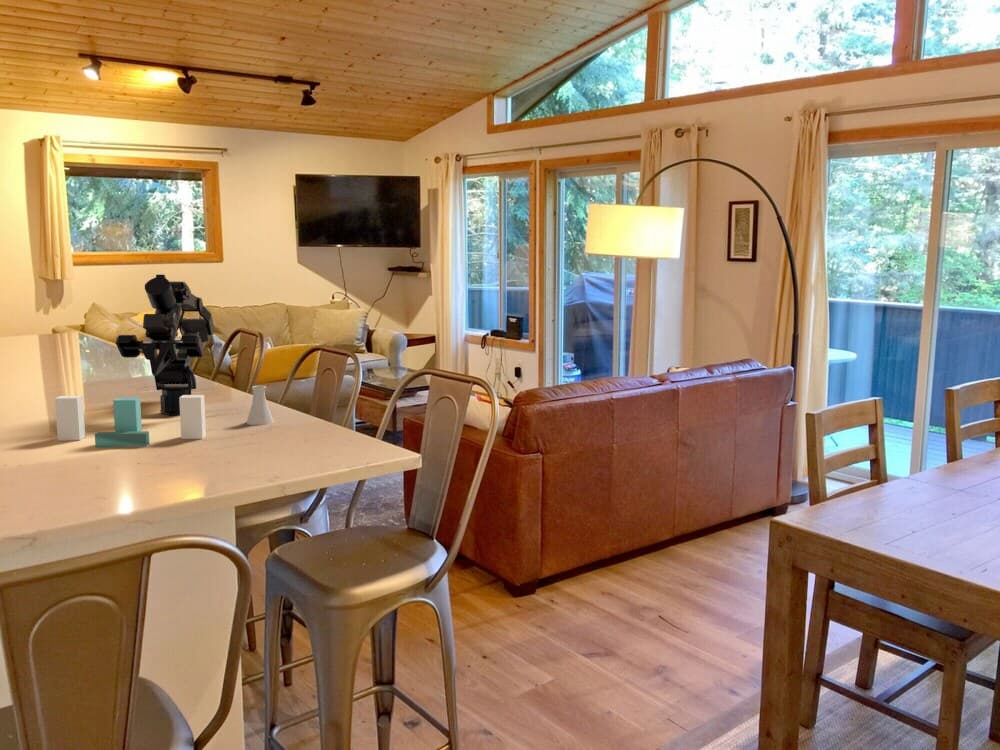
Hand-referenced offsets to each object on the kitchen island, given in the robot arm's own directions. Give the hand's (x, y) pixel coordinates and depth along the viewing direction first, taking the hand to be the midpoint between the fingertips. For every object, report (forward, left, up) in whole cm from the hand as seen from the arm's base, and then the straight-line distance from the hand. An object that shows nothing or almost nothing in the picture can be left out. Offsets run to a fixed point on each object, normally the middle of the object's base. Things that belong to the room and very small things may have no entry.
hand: (154, 374), depth 189 cm
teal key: (+12, +15, -11) cm, 22 cm away
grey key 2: (+1, +21, -11) cm, 24 cm away
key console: (+12, +15, -13) cm, 23 cm away
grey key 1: (+20, +5, -11) cm, 23 cm away
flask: (-17, +17, -13) cm, 27 cm away
